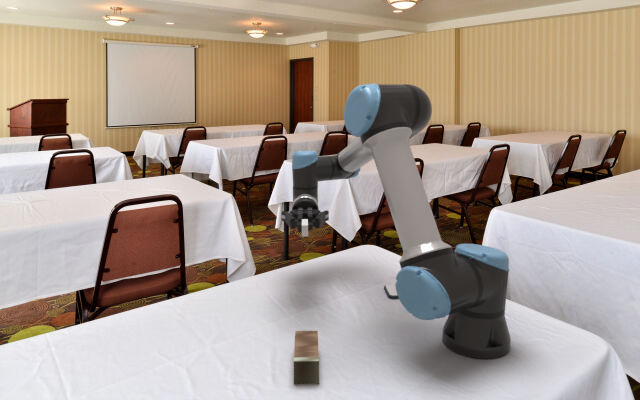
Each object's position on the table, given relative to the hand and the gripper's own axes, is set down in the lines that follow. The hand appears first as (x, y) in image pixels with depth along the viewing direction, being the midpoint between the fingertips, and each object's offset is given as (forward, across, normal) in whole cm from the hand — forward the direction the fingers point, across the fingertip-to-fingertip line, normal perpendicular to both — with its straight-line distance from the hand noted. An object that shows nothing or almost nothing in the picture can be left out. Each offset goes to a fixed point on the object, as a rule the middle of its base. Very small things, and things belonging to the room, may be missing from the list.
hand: (304, 230), depth 117 cm
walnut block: (+10, 0, -23) cm, 25 cm away
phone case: (-23, -31, -26) cm, 46 cm away
